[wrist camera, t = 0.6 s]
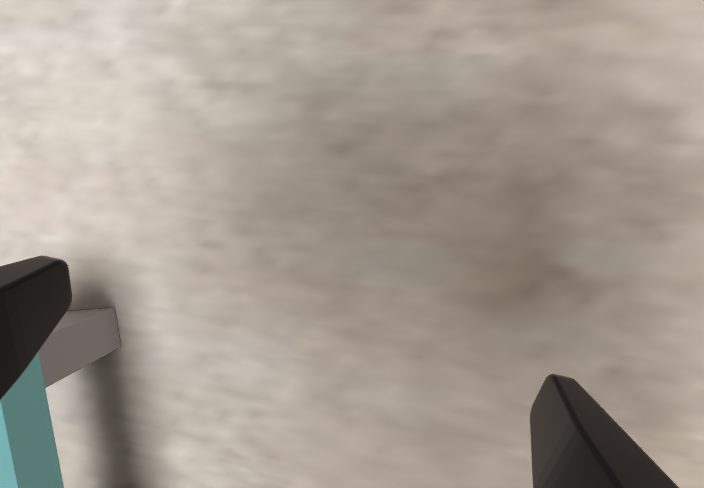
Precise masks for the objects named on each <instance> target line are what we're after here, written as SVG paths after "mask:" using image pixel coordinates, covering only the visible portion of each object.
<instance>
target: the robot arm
mask: <svg viewBox="0 0 704 488" xmlns="http://www.w3.org/2000/svg"><path fill="white" fill-rule="evenodd" d="M71 301H72V291H71V284H70V276H69V269H68V265H67V263H66V262H65V261H63V260H61V259H57V258H53V257H48V256H38V257H34V258H30V259H26V260H23V261H19V262H15V263H11V264H7V265H4V266H0V400H1V399H2V398H3V396H4V395H5V394H6V393H7V392H8V391H9V390H10V388H11V387H12V386H13V385H14V384H15V382H16V381H17V380H18V379H19V378H20V376H21V375H22V374H23V372H24V371H25V370H26V368H27V367H28V366H29V364H30V363H31V362H32V360H33V359H34V357H35V356H36V355H37V353H38V352H39V350H40V349H41V347H42V346H43V345H44V343H45V342H46V340H47V339H48V337H49V336H50V335H51V333H52V332H53V330H54V329H55V327H56V326H57V325H58V323H59V322H60V320H61V319H62V318H63V316H64V315H65V313H66V312H67V310H68V309H69V307H70V305H71ZM530 428H531V450H532V472H533V488H679V487H678V486H677V485H676V484H675V483H674V482H673V481H672V480H671V479H670V478H669V477H668V476H667V475H666V474H665V473H664V472H663V471H662V470H661V469H660V467H659V466H658V465H657V464H656V463H655V462H654V461H653V460H652V459H651V458H650V457H649V456H648V455H647V454H646V453H645V452H644V451H643V450H642V449H641V448H640V447H639V446H638V445H637V444H636V443H635V442H634V441H633V439H632V438H631V437H630V436H629V435H628V434H627V433H626V432H625V431H624V430H623V429H622V428H621V427H620V426H619V425H618V424H617V423H616V422H615V421H614V420H613V419H612V418H611V417H610V416H609V415H608V414H607V413H606V411H605V410H604V409H603V408H602V407H601V406H600V405H599V404H598V403H597V402H596V401H595V400H594V399H593V398H592V397H591V396H590V395H589V394H588V393H587V392H586V391H585V390H584V389H583V388H582V387H581V386H580V385H579V383H578V382H576V381H575V380H574V379H572V378H569V377H565V376H560V375H556V374H551V375H549V376H548V377H547V378H546V379H545V381H544V383H543V385H542V387H541V389H540V391H539V393H538V395H537V397H536V399H535V401H534V403H533V405H532V408H531V413H530Z"/></svg>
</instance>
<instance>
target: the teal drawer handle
mask: <svg viewBox="0 0 704 488" xmlns="http://www.w3.org/2000/svg"><path fill="white" fill-rule="evenodd" d="M120 347H121V343H120V337H119V331H118V325H117V319H116V313H115V308H114V307H113V308H101V309H89V310H77V311H67V312H66V313H65V315H64V316H63V318H62V319H61V320H60V322H59V323H58V325H57V326H56V327H55V329H54V330H53V332H52V333H51V335H50V336H49V337H48V339H47V340H46V342H45V343H44V345H43V346H42V347H41V349H40V350H39V352H38V353H37V355H36V356H35V357H34V359H33V360H32V362H31V363H30V364H29V366H28V367H27V368H26V370H25V371H24V372H23V374H22V375H21V376H20V378H19V379H18V380H17V381H16V382H15V384H14V385H13V386H12V387H11V388H10V390H9V391H8V392H7V393H6V394H5V395H4V396H3V398H2V399H1V400H0V488H64V486H63V481H62V475H61V470H60V465H59V459H58V454H57V449H56V443H55V438H54V433H53V428H52V422H51V417H50V412H49V406H48V401H47V396H46V390H45V388H46V387H48V386H50V385H52V384H53V383H55V382H57V381H59V380H61V379H63V378H64V377H66V376H68V375H70V374H72V373H74V372H75V371H77V370H79V369H81V368H83V367H85V366H86V365H88V364H90V363H92V362H94V361H96V360H98V359H99V358H101V357H103V356H105V355H107V354H109V353H110V352H112V351H114V350H116V349H118V348H120Z"/></svg>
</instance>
